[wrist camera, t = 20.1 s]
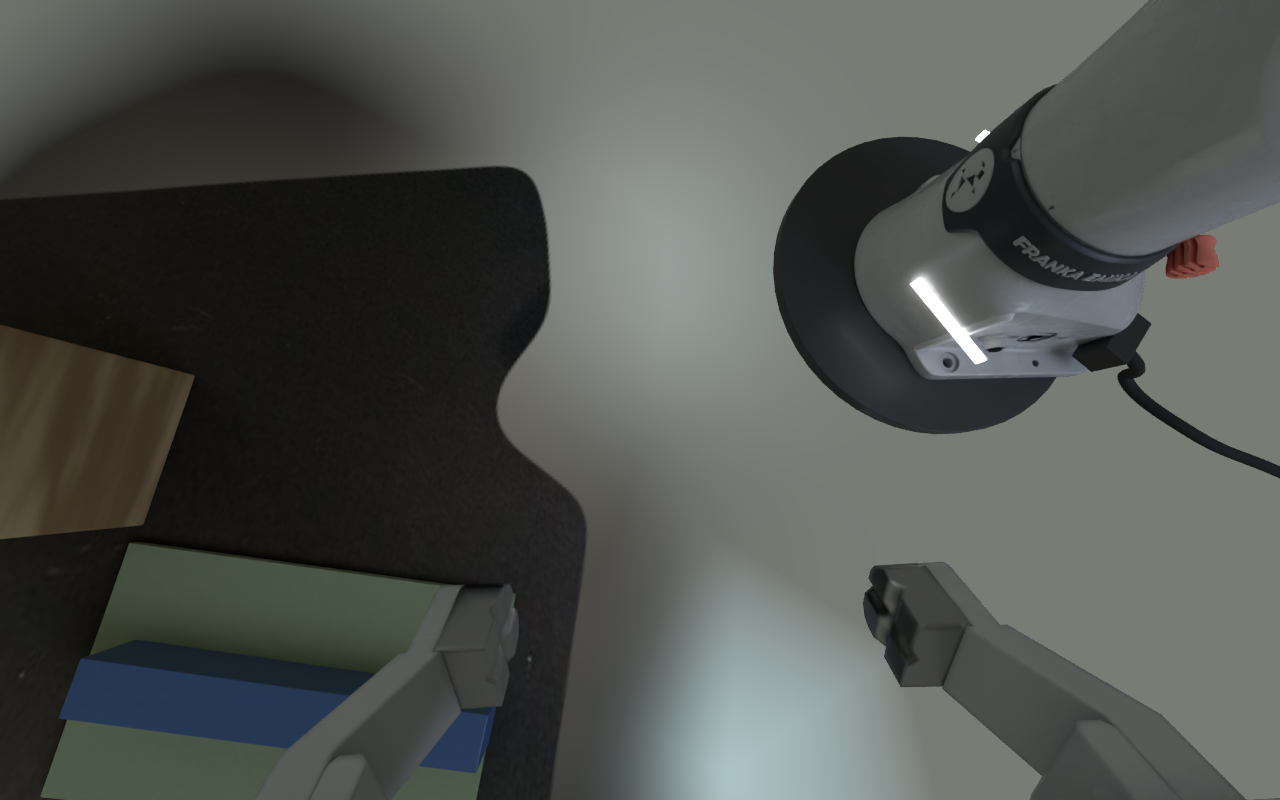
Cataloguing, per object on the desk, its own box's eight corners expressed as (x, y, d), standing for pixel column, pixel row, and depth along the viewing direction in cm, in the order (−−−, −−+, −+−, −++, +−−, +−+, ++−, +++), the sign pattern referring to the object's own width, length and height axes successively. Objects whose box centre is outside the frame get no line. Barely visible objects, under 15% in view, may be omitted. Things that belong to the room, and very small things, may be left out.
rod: (499, 690, 29) (488, 715, 26) (488, 743, 28) (475, 774, 25) (135, 638, 27) (80, 657, 24) (116, 692, 27) (57, 719, 24)
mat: (516, 593, 30) (514, 595, 30) (469, 833, 28) (467, 841, 27) (138, 541, 29) (128, 542, 28) (51, 790, 26) (39, 797, 26)
